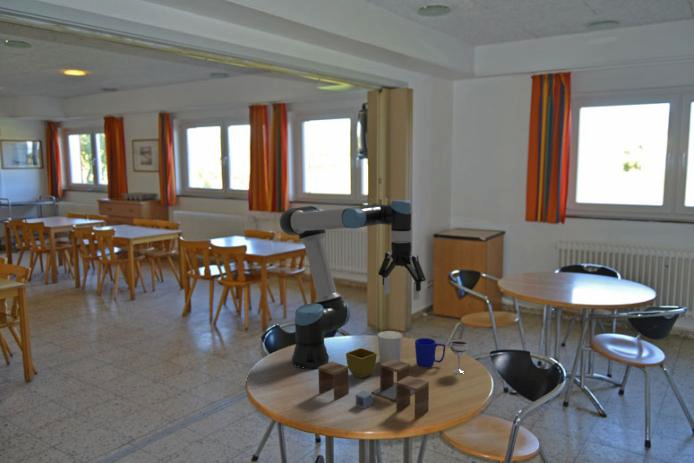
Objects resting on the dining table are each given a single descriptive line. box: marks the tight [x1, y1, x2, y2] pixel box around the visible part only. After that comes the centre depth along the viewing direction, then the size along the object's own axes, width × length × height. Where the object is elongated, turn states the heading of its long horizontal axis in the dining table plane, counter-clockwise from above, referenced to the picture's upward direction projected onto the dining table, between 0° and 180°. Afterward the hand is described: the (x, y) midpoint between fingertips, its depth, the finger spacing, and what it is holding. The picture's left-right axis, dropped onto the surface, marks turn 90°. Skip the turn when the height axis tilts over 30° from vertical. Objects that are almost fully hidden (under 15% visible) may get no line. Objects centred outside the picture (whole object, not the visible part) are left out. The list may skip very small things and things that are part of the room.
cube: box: [355, 390, 373, 410], centre depth 182 cm, size 4×4×4 cm
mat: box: [371, 381, 415, 402], centre depth 192 cm, size 12×12×1 cm
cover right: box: [395, 375, 430, 419], centre depth 177 cm, size 8×7×10 cm
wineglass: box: [449, 338, 469, 374], centre depth 209 cm, size 7×7×12 cm
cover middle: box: [379, 359, 411, 392], centre depth 192 cm, size 8×7×10 cm
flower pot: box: [345, 347, 378, 379], centre depth 207 cm, size 9×9×9 cm
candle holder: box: [377, 330, 403, 365], centre depth 219 cm, size 10×10×12 cm
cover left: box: [317, 361, 350, 401], centre depth 191 cm, size 8×7×10 cm
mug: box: [414, 337, 446, 368], centre depth 216 cm, size 8×12×10 cm
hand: (401, 296), depth 205 cm, fingers open, 13 cm apart
